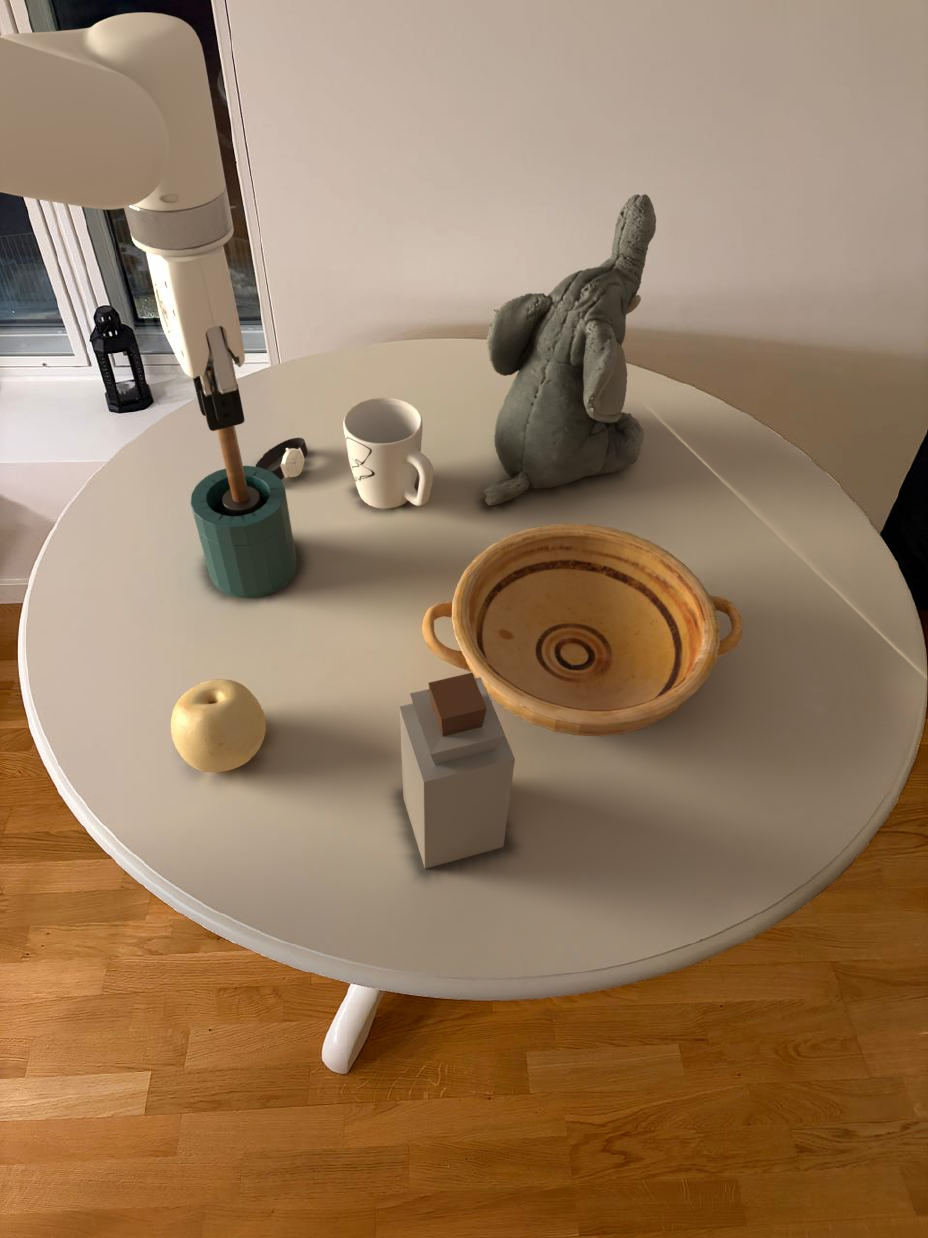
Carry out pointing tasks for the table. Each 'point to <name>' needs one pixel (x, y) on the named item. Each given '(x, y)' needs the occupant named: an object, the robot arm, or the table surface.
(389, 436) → the mug
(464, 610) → the ceramic bowl
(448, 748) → the perfume bottle
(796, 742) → the table surface
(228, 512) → the brush
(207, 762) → the apple
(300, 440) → the watch
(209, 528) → the teal hollow cylinder
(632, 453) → the stuffed elephant
